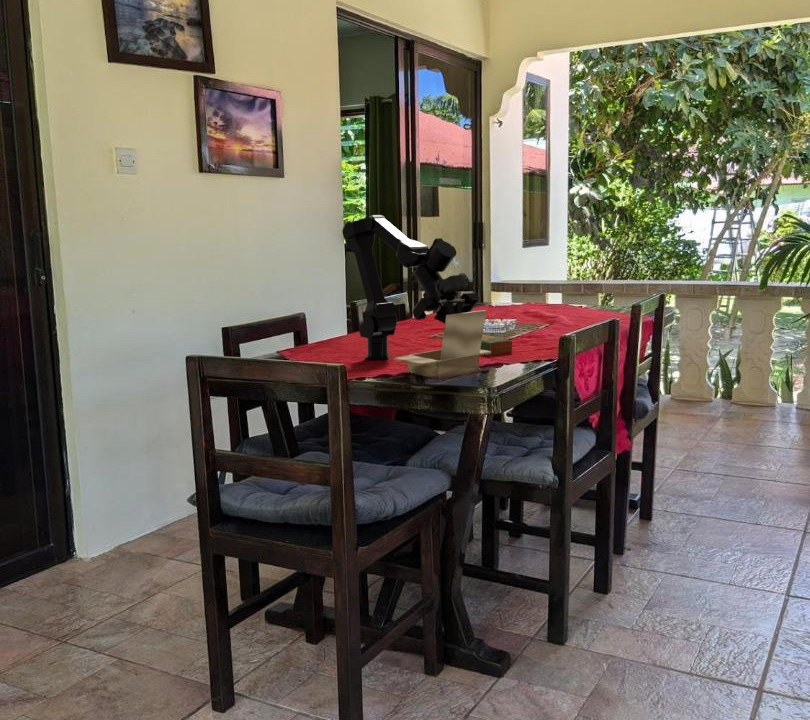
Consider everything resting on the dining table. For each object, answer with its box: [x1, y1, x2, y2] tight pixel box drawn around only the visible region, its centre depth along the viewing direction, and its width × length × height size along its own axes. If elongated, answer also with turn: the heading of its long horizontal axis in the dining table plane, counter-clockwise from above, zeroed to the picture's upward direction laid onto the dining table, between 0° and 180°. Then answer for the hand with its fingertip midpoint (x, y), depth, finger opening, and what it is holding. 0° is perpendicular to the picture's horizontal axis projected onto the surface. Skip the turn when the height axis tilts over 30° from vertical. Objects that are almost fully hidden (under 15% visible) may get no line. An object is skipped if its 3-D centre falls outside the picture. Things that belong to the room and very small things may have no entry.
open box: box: [393, 348, 491, 380], centre depth 216 cm, size 12×24×4 cm, turn 130°
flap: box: [440, 309, 487, 361], centre depth 209 cm, size 12×13×1 cm
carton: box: [480, 333, 513, 357], centre depth 246 cm, size 8×16×4 cm, turn 33°
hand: (462, 331), depth 209 cm, fingers closed, pressing on flap
